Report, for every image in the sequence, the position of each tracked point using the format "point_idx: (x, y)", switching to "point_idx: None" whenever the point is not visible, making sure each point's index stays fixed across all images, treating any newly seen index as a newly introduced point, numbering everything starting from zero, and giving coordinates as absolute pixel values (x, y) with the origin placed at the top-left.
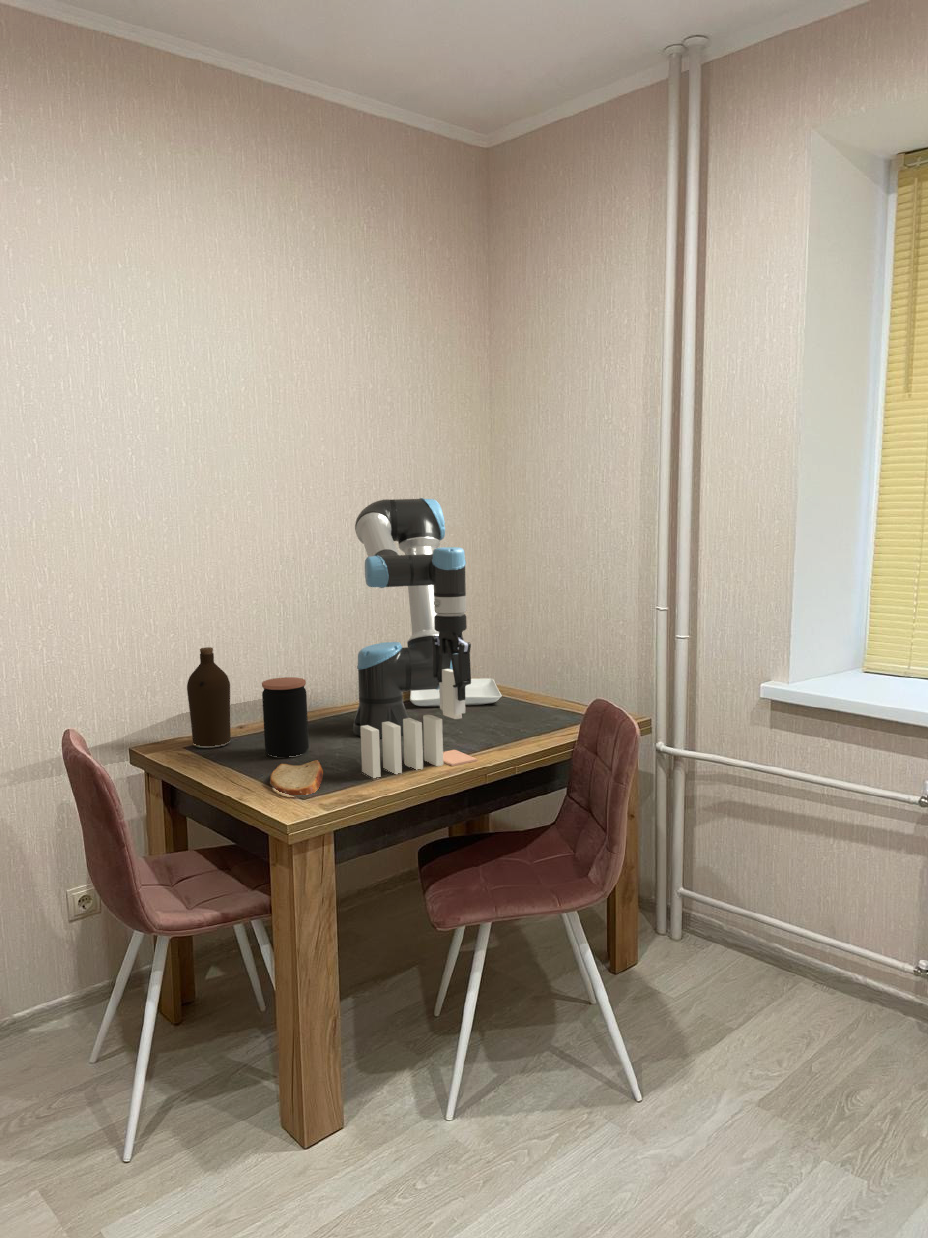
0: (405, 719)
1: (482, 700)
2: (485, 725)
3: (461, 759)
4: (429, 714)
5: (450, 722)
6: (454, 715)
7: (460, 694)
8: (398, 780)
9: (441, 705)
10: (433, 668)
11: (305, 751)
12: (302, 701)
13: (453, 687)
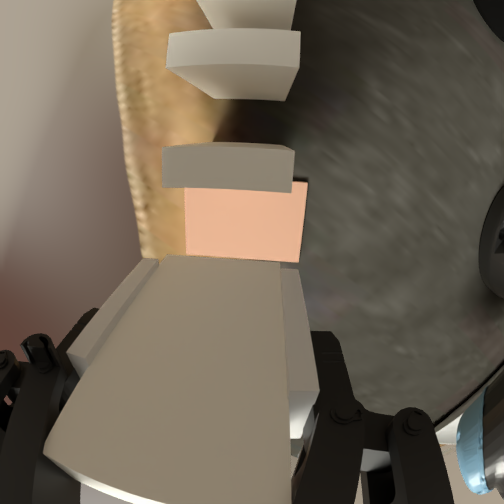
0: (281, 33)
1: (445, 422)
2: (387, 393)
3: (206, 221)
4: (290, 190)
5: (448, 360)
6: (167, 262)
7: (72, 331)
8: (176, 15)
9: (281, 280)
10: (443, 473)
11: (485, 17)
12: None
13: (85, 353)
